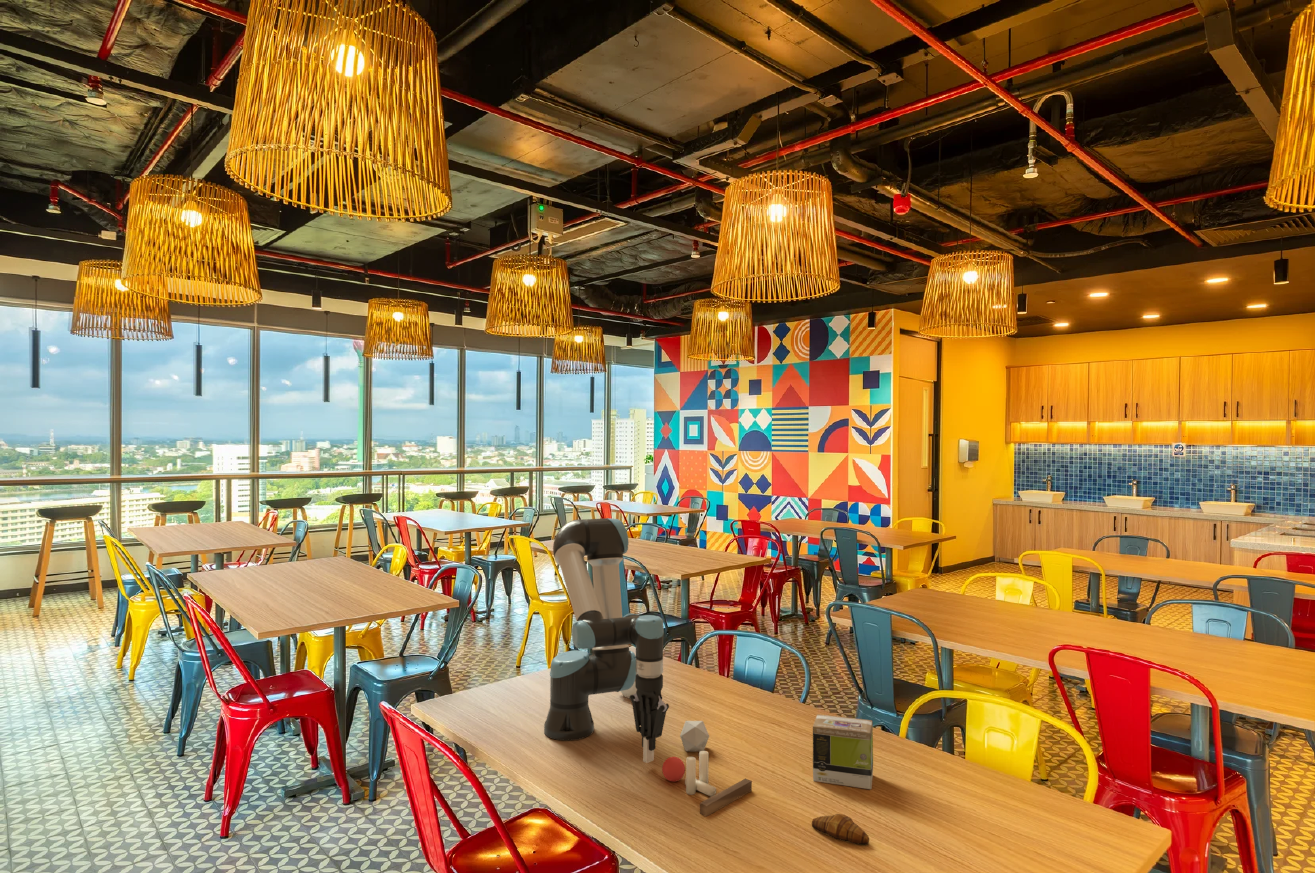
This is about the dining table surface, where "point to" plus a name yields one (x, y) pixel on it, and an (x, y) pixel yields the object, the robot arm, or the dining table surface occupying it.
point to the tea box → (843, 751)
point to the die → (694, 736)
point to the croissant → (841, 828)
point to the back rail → (725, 797)
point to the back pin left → (703, 766)
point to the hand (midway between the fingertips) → (648, 760)
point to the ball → (673, 769)
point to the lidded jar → (629, 691)
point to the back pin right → (691, 775)
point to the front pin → (704, 788)
